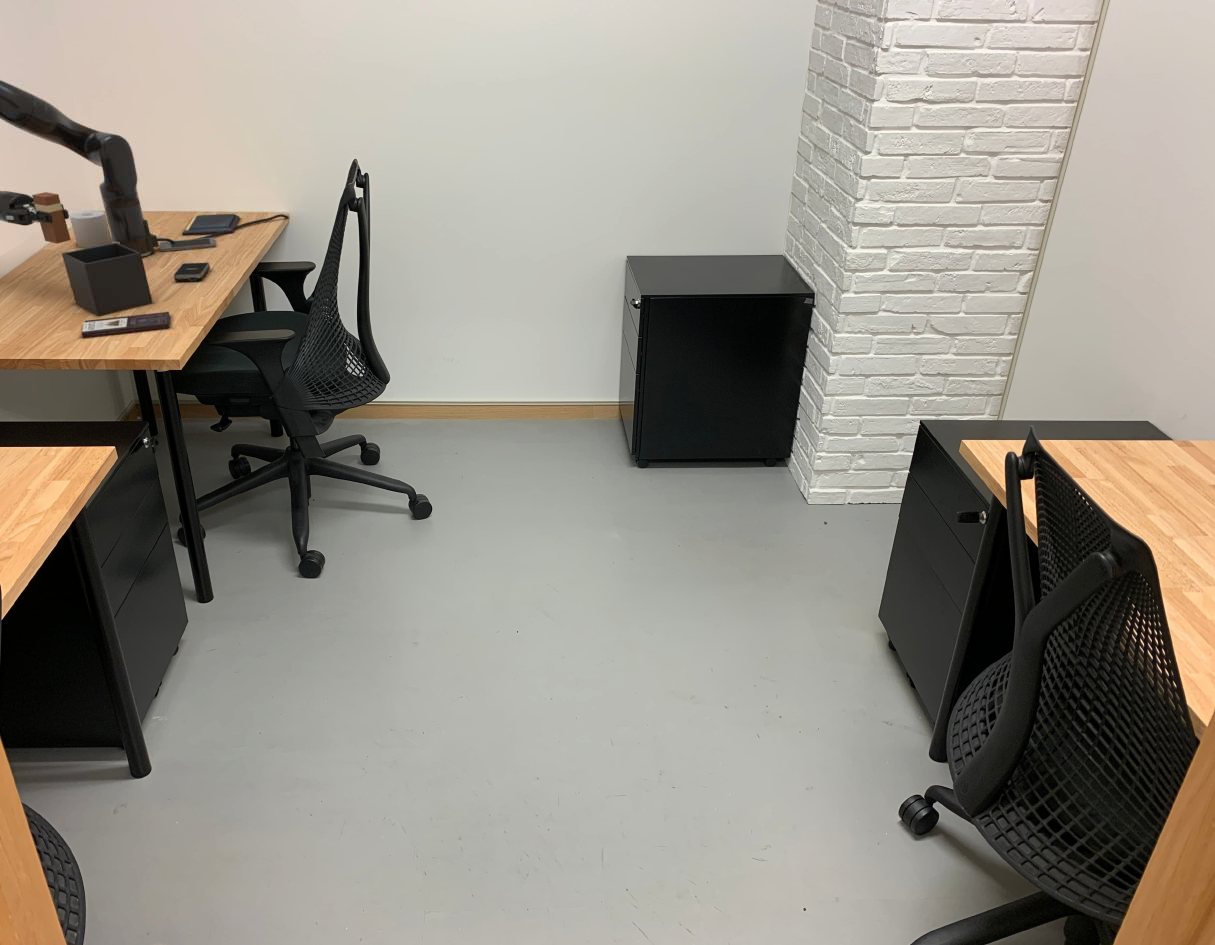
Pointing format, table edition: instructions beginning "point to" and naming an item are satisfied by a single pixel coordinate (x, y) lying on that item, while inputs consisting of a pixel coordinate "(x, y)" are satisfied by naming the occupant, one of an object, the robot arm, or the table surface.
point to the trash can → (107, 278)
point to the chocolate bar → (125, 324)
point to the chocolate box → (58, 227)
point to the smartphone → (187, 244)
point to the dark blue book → (211, 224)
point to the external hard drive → (191, 272)
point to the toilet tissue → (90, 229)
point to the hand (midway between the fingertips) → (58, 216)
